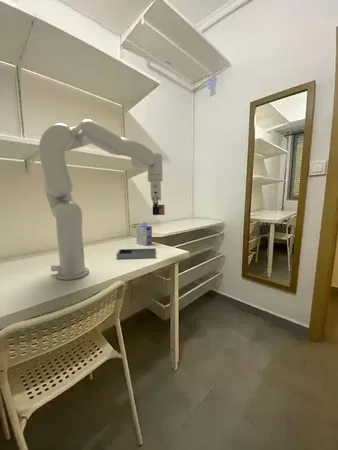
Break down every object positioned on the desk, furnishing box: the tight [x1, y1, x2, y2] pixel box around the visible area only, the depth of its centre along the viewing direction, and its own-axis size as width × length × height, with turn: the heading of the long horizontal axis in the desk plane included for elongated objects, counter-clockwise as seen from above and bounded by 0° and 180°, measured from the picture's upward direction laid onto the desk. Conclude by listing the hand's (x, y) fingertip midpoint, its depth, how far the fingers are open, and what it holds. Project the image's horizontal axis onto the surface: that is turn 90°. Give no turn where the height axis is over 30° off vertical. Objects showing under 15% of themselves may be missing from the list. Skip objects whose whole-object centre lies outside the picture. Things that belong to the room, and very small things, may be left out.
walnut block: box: [158, 204, 166, 216], centre depth 110 cm, size 6×5×5 cm
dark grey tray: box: [115, 247, 157, 260], centre depth 115 cm, size 20×10×2 cm, turn 94°
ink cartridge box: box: [135, 221, 153, 246], centre depth 140 cm, size 10×6×14 cm, turn 53°
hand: (155, 213), depth 111 cm, fingers closed on walnut block, 5 cm apart
